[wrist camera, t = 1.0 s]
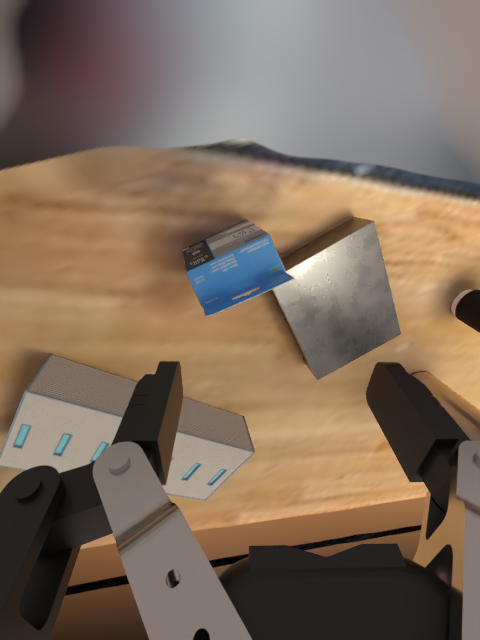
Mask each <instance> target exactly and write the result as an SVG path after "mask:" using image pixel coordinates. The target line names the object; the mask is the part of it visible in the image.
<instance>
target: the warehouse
mask: <svg viewBox="0 0 480 640" xmlns="http://www.w3.org/2000/svg"><path fill="white" fill-rule="evenodd" d="M137 383H138V382H135V381H132V380H129V379H126V378H123V377H120V376H117V375H113V374H110V373H107V372H104V371H101V370H98V369H95V368H92V367H89V366H86V365H83V364H80V363H77V362H73V361H70V360H67V359H64V358H61V357H58V356H55V355H52V354H50V355H49V357H48V358H47V359H46V361H45V362H44V364H43V365H42V367H41V368H40V369H39V371H38V372H37V374H36V375H35V377H34V378H33V379H32V381H31V382H30V384H29V385H28V387H27V388H26V389H25V391H24V394H23V396H22V399H21V401H20V404H19V407H18V409H17V412H16V414H15V417H14V419H13V422H12V424H11V427H10V429H9V432H8V435H7V437H6V440H5V442H4V445H3V447H2V450H1V452H0V466H1V467H7V468H13V469H19V470H25V471H26V470H28V469H30V468H33V467H36V466H41V465H48V466H52V467H54V468H55V469H56V470H57V471H58V473H61V472H65V471H68V470H71V469H75V468H78V467H81V466H84V465H87V464H89V463H91V462H93V461H95V460H96V459H97V458H98V457H99V455H100V454H101V453H102V452H103V451H104V450H106V449H107V448H108V447H110V446H111V444H112V442H113V440H114V437H115V435H116V433H117V430H118V428H119V425H120V423H121V420H122V418H123V416H124V413H125V411H126V408H127V406H128V403H129V401H130V399H131V397H132V394H133V391H134V389H135V386H136V384H137ZM254 453H255V451H254V447H253V444H252V441H251V437H250V434H249V431H248V427H247V424H246V421H245V418H244V416H240V415H237V414H234V413H231V412H228V411H225V410H221V409H218V408H215V407H212V406H209V405H206V404H203V403H200V402H197V401H194V400H191V399H188V398H184V397H183V401H182V407H181V413H180V418H179V423H178V428H177V433H176V438H175V443H174V448H173V453H172V458H171V463H170V468H169V473H168V478H167V483H166V485H162V486H163V488H164V490H165V492H166V494H169V495H174V496H180V497H186V498H192V499H198V500H204V501H206V500H207V499H208V498H209V497H210V496H211V495H212V494H213V493H214V492H215V491H216V490H217V489H218V488H219V487H220V486H221V485H222V484H223V483H224V482H225V481H226V480H227V479H228V478H229V477H230V476H231V475H232V474H233V473H234V472H235V471H236V470H237V469H238V468H239V467H240V466H241V465H242V464H244V463H245V462H246V461H247V460H248V459H249V458H250V457H251V456H252V455H253V454H254Z"/></svg>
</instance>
